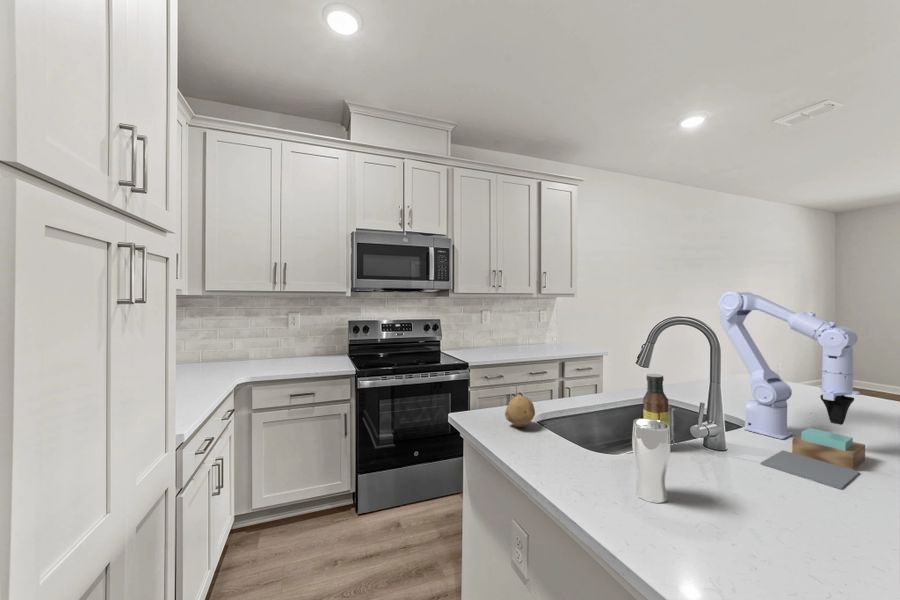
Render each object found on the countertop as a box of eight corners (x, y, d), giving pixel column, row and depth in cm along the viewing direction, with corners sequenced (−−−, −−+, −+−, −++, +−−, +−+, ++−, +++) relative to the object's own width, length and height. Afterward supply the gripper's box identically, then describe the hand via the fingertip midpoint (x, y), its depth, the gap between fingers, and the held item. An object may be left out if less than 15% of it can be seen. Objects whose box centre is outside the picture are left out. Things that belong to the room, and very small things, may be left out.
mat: (760, 464, 91) (760, 462, 91) (782, 451, 99) (782, 450, 99) (841, 489, 79) (841, 487, 79) (859, 473, 87) (859, 471, 87)
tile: (801, 439, 97) (801, 432, 97) (809, 435, 100) (809, 427, 100) (845, 450, 90) (845, 442, 90) (852, 445, 93) (852, 437, 93)
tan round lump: (540, 431, 113) (540, 399, 113) (513, 434, 111) (513, 401, 111) (527, 421, 122) (527, 391, 122) (502, 424, 120) (502, 393, 120)
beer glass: (669, 508, 73) (670, 431, 72) (630, 498, 76) (630, 425, 76) (670, 492, 78) (670, 421, 78) (633, 483, 82) (634, 415, 82)
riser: (792, 453, 97) (792, 438, 97) (806, 445, 103) (806, 430, 103) (852, 470, 88) (853, 453, 88) (865, 460, 93) (865, 444, 93)
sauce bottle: (667, 444, 103) (667, 373, 103) (672, 453, 97) (673, 378, 97) (641, 441, 105) (641, 371, 105) (644, 450, 100) (645, 376, 99)
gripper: (851, 378, 91) (850, 433, 92) (866, 372, 99) (866, 422, 99) (812, 373, 97) (811, 424, 98) (830, 367, 105) (829, 415, 105)
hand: (836, 423), depth 99 cm, fingers closed
